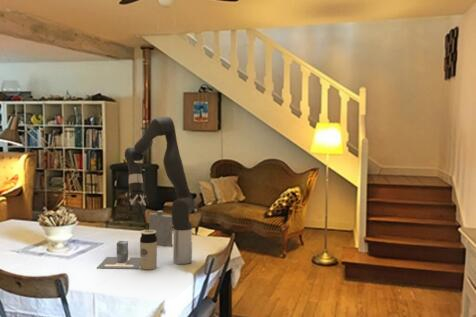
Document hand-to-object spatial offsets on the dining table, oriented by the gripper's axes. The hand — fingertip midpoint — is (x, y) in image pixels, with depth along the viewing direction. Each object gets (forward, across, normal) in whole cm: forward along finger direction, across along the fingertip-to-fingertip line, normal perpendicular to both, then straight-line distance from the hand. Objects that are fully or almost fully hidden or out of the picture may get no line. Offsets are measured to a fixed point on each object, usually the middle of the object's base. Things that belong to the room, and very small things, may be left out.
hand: (137, 212), depth 232 cm
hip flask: (+17, +23, +9) cm, 30 cm away
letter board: (+26, -12, 0) cm, 29 cm away
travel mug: (+30, -7, -15) cm, 34 cm away
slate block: (+25, -11, 0) cm, 28 cm away
